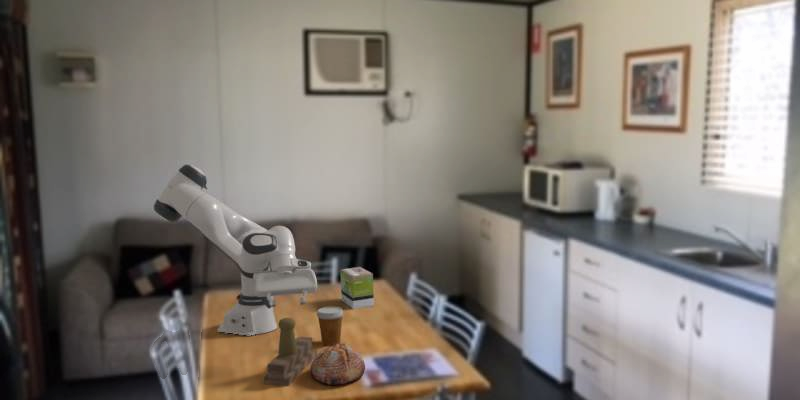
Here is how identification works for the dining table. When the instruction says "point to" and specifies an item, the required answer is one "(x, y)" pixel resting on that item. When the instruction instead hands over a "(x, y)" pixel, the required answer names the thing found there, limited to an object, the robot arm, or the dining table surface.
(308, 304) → the dining table surface
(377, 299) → the dining table surface
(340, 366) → the bread
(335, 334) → the disposable coffee cup
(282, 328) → the olive pawn
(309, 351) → the ridge stand
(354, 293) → the tea box
